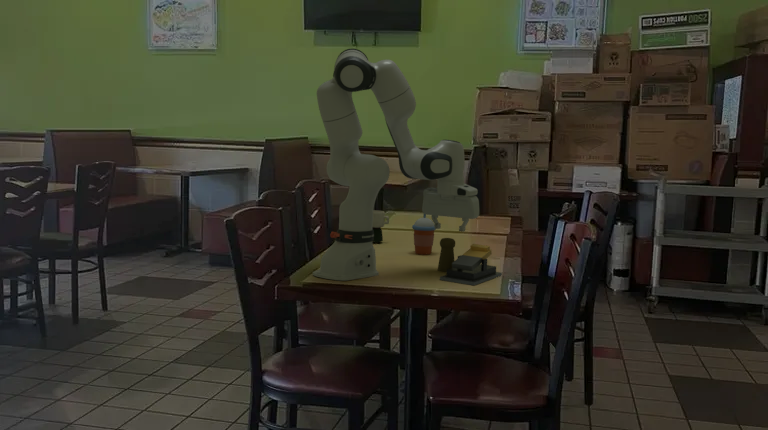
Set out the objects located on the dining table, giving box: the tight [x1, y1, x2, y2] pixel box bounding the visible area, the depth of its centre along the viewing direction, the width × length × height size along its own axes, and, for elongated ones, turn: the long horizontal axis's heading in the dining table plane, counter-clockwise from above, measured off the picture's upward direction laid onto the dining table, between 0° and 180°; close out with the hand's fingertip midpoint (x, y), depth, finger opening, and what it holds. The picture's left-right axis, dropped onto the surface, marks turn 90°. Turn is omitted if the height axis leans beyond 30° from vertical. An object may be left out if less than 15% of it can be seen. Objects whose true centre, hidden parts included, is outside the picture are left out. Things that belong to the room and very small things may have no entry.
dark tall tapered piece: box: [437, 237, 456, 273], centre depth 237 cm, size 6×6×11 cm
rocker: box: [452, 243, 493, 271], centre depth 225 cm, size 14×7×3 cm, turn 146°
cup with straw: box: [411, 213, 437, 256], centre depth 268 cm, size 9×9×18 cm
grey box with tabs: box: [439, 254, 503, 286], centre depth 226 cm, size 20×12×7 cm, turn 146°
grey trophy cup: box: [372, 209, 390, 243], centre depth 290 cm, size 11×7×13 cm, turn 86°
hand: (449, 229), depth 236 cm, fingers open, 8 cm apart
